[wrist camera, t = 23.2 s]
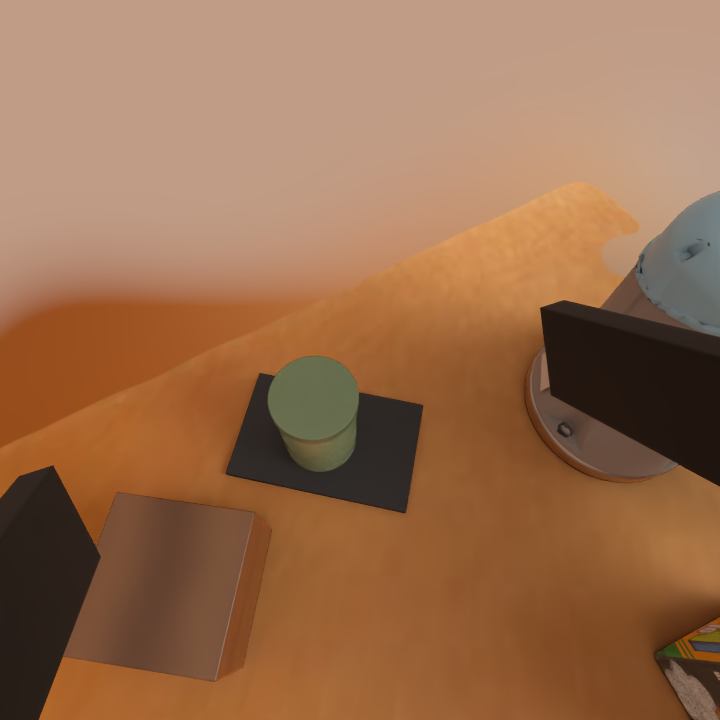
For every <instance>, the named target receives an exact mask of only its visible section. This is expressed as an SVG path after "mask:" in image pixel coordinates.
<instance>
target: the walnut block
mask: <svg viewBox="0 0 720 720" xmlns="http://www.w3.org/2000/svg"><path fill="white" fill-rule="evenodd" d="M271 531H272V529H271V528H270V527H269V526H268V525H267V524H266V523H265V522H264V521H263V520H262V519H261V518H260V517H259V516H258V515H257V514H256V513H255V512H251V511H244V510H237V509H230V508H223V507H217V506H210V505H203V504H196V503H189V502H182V501H175V500H169V499H162V498H155V497H148V496H141V495H134V494H127V493H121V492H117V493H116V495H115V498H114V500H113V503H112V506H111V509H110V511H109V514H108V517H107V520H106V522H105V525H104V528H103V531H102V533H101V536H100V539H99V542H98V544H97V547H96V548H97V550H98V552H99V554H100V556H101V558H100V561H99V563H98V566H97V569H96V571H95V574H94V576H93V579H92V582H91V584H90V587H89V589H88V592H87V595H86V597H85V600H84V602H83V605H82V608H81V610H80V613H79V616H78V618H77V621H76V623H75V626H74V629H73V631H72V634H71V636H70V639H69V642H68V644H67V647H66V649H65V652H64V655H63V657H68V658H75V659H81V660H87V661H93V662H99V663H105V664H111V665H117V666H123V667H129V668H135V669H141V670H147V671H153V672H159V673H165V674H171V675H177V676H183V677H189V678H195V679H201V680H207V681H213V682H215V681H217V680H219V679H221V678H223V677H225V676H227V675H229V674H231V673H233V672H235V671H237V670H239V669H241V668H243V664H244V659H245V655H246V650H247V645H248V640H249V636H250V631H251V626H252V621H253V617H254V612H255V607H256V602H257V598H258V593H259V588H260V584H261V579H262V574H263V569H264V565H265V560H266V555H267V550H268V546H269V541H270V536H271Z"/></svg>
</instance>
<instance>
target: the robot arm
mask: <svg viewBox="0 0 720 720" xmlns="http://www.w3.org/2000/svg"><path fill="white" fill-rule="evenodd" d="M540 311H541V319H542V327H543V335H544V344H545V345H544V346H543V347H542V349H541V350H540V351H539V353H538V354H537V356H536V357H535V359H534V360H533V362H532V364H531V366H530V368H529V370H528V373H527V377H526V383H525V398H526V404H527V409H528V412H529V415H530V418H531V420H532V422H533V425H534V426H535V428H536V430H537V432H538V433H539V435H540V436H541V438H542V439H543V440H544V442H545V443H546V444H547V445H548V446H549V447H550V448H551V450H552V451H553V452H554V453H556V454H557V455H558V456H559V457H560V458H561V459H563V460H564V461H565V462H566V463H568V464H570V465H571V466H573V467H574V468H576V469H578V470H580V471H581V472H584V473H586V474H588V475H590V476H593V477H596V478H599V479H603V480H607V481H613V482H623V483H628V482H639V481H644V480H648V479H651V478H654V477H656V476H658V475H661V474H663V473H665V472H667V471H669V470H671V469H673V468H675V467H676V466H678V465H681V466H683V467H685V468H686V469H688V470H690V471H692V472H694V473H696V474H698V475H699V476H701V477H703V478H705V479H707V480H709V481H711V482H712V483H714V484H716V485H718V486H720V191H718V192H715V193H713V194H710V195H708V196H706V197H703V198H701V199H700V200H698V201H696V202H694V203H693V204H691V205H690V206H689V207H687V208H686V209H685V210H684V211H683V212H681V213H680V214H679V215H678V216H677V218H675V220H674V221H673V222H672V223H671V224H670V225H669V226H668V227H667V228H666V229H665V230H664V231H663V232H662V233H661V234H660V235H658V236H657V237H656V238H654V239H653V240H652V241H651V242H649V244H648V245H647V246H646V247H645V248H644V250H643V251H642V253H641V254H640V256H639V260H638V262H637V264H636V265H635V267H634V268H633V269H632V270H631V272H630V273H629V274H628V275H627V277H626V278H625V279H624V280H623V281H622V282H621V284H620V285H619V286H618V287H617V288H616V290H615V291H614V292H613V293H612V294H611V296H610V297H609V298H608V299H607V300H606V302H605V303H604V304H603V305H602V306H601V307H600V309H599V308H595V307H591V306H586V305H582V304H578V303H574V302H569V301H565V300H563V301H560V302H557V303H554V304H550V305H547V306H544V307H541V308H540ZM100 558H101V556H100V554H99V552H98V550H97V548H96V546H95V544H94V542H93V541H92V539H91V537H90V535H89V533H88V531H87V529H86V527H85V525H84V523H83V521H82V520H81V518H80V516H79V514H78V512H77V510H76V508H75V506H74V504H73V502H72V500H71V499H70V497H69V495H68V493H67V491H66V489H65V487H64V485H63V483H62V481H61V479H60V478H59V476H58V474H57V472H56V470H55V468H54V466H50V467H46V468H43V469H40V470H37V471H34V472H31V473H28V474H25V475H22V476H19V477H18V478H17V479H16V480H15V482H14V483H13V484H12V485H11V487H10V488H9V489H8V490H7V491H6V493H5V494H4V495H3V496H2V497H1V499H0V720H39V717H40V715H41V712H42V710H43V707H44V704H45V702H46V699H47V696H48V694H49V691H50V689H51V686H52V683H53V681H54V678H55V676H56V673H57V670H58V668H59V665H60V663H61V660H62V657H63V655H64V652H65V649H66V647H67V644H68V642H69V639H70V636H71V634H72V631H73V629H74V626H75V623H76V621H77V618H78V616H79V613H80V610H81V608H82V605H83V602H84V600H85V597H86V595H87V592H88V589H89V587H90V584H91V582H92V579H93V576H94V574H95V571H96V569H97V566H98V563H99V561H100Z"/></svg>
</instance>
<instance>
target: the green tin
mask: <svg viewBox="0 0 720 720" xmlns="http://www.w3.org/2000/svg"><path fill="white" fill-rule="evenodd" d="M358 406H359V391H358V386H357V383H356V381H355V378H354V377H353V375H352V374H351V373H350V371H349V370H348V369H347V368H346V367H345V366H343V365H342V364H341V363H339V362H337V361H335V360H333V359H330V358H327V357H321V356H309V357H303V358H300V359H297V360H295V361H293V362H291V363H289V364H287V365H286V366H285V367H283V368H282V369H281V370H280V371H279V372H278V373H277V375H276V376H275V377H274V379H273V381H272V383H271V385H270V388H269V392H268V408H269V411H270V414H271V417H272V419H273V421H274V423H275V425H276V426H277V428H278V429H279V431H280V433H281V435H282V438H283V440H284V443H285V445H286V447H287V450H288V452H289V454H290V456H291V457H292V459H293V460H294V461H295V462H296V463H297V464H298V465H300V466H301V467H303V468H305V469H307V470H310V471H315V472H325V471H330V470H333V469H335V468H337V467H339V466H341V465H342V464H343V463H345V462H346V461H347V460H348V458H349V457H350V456H351V454H352V453H353V450H354V448H355V445H356V430H357V411H358Z"/></svg>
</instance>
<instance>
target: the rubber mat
mask: <svg viewBox="0 0 720 720" xmlns="http://www.w3.org/2000/svg"><path fill="white" fill-rule="evenodd" d="M274 377H275V376H272V375H267V374H262V373H260V374H259V377H258V379H257V382H256V385H255V388H254V391H253V394H252V397H251V400H250V403H249V406H248V409H247V412H246V415H245V418H244V421H243V424H242V427H241V430H240V433H239V436H238V439H237V442H236V445H235V448H234V450H233V453H232V456H231V459H230V462H229V465H228V468H227V471H226V474H227V475H231V476H235V477H240V478H244V479H249V480H254V481H258V482H263V483H268V484H272V485H277V486H282V487H286V488H291V489H295V490H300V491H305V492H309V493H314V494H319V495H323V496H328V497H332V498H337V499H342V500H346V501H351V502H356V503H360V504H365V505H370V506H374V507H379V508H383V509H388V510H393V511H397V512H402V513H406V509H407V503H408V496H409V490H410V484H411V478H412V471H413V465H414V459H415V453H416V446H417V440H418V434H419V428H420V421H421V415H422V409H423V405H420V404H415V403H410V402H405V401H400V400H395V399H390V398H384V397H379V396H374V395H369V394H364V393H359V406H358V411H357V430H356V445H355V448H354V450H353V453H352V454H351V456H350V457H349V458H348V460H347V461H346V462H345V463H343V464H342V465H341V466H339V467H337V468H335V469H333V470H330V471H325V472H315V471H310V470H307V469H305V468H303V467H301V466H300V465H298V464H297V463H296V462H295V461H294V460H293V459H292V457H291V456H290V454H289V452H288V450H287V447H286V445H285V443H284V440H283V438H282V435H281V433H280V431H279V429H278V428H277V426H276V425H275V423H274V421H273V419H272V417H271V414H270V411H269V408H268V392H269V388H270V385H271V383H272V381H273V379H274Z"/></svg>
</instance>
